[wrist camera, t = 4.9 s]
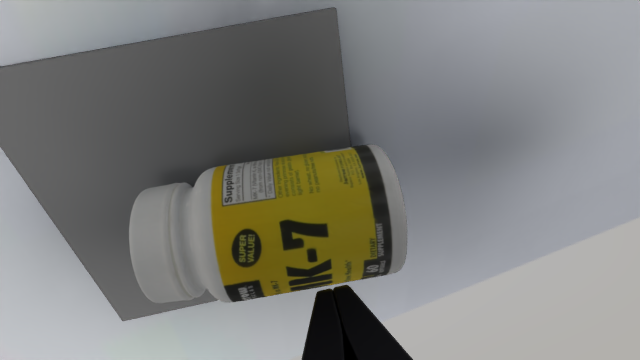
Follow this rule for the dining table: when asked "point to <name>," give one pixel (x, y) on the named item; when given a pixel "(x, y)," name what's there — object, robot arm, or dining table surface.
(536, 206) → the dining table surface
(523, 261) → the dining table surface
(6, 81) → the mat
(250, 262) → the supplement bottle
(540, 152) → the dining table surface
